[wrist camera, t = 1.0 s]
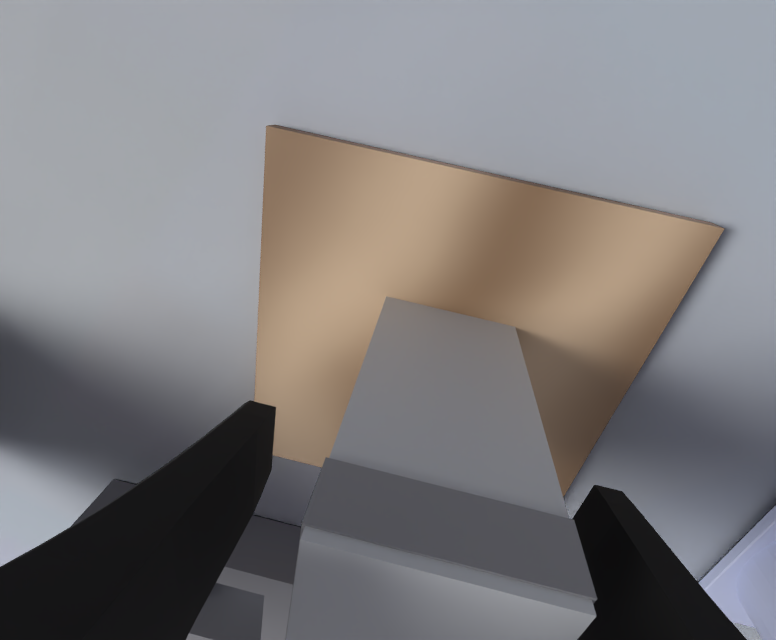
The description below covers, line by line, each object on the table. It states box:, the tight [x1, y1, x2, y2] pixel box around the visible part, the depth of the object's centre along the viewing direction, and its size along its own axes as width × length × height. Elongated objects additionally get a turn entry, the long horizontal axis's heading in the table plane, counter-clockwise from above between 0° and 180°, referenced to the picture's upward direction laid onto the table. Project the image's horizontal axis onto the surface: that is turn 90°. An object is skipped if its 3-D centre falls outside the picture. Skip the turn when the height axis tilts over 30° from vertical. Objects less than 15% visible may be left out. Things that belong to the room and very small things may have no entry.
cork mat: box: [254, 125, 724, 497], centre depth 14 cm, size 12×12×1 cm
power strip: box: [72, 479, 301, 640], centre depth 20 cm, size 26×8×3 cm, turn 79°
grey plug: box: [285, 296, 597, 640], centre depth 10 cm, size 4×4×8 cm
